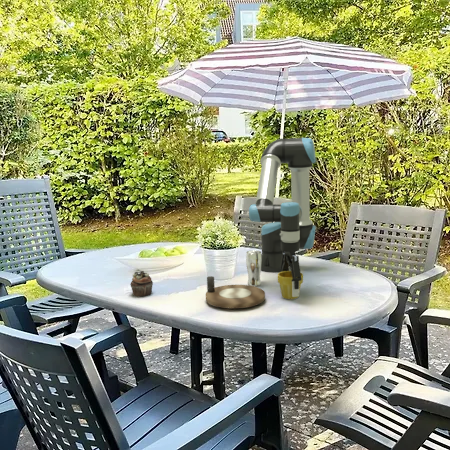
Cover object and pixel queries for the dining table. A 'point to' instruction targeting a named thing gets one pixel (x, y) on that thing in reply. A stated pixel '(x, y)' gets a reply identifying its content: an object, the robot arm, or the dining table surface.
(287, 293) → the plant pot
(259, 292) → the turntable
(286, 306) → the dining table surface
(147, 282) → the cupcake
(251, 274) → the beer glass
